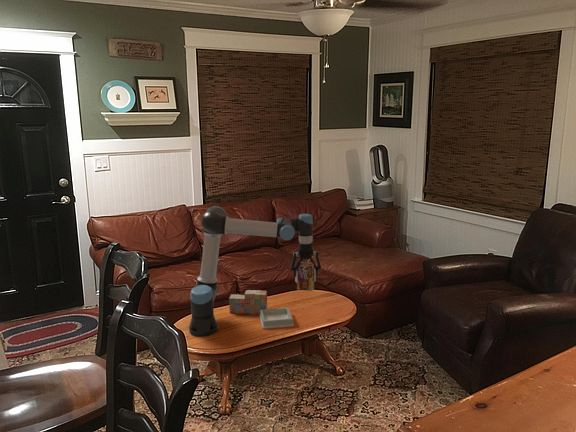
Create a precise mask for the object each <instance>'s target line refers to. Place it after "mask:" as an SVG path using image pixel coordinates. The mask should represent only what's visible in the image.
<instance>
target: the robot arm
mask: <svg viewBox="0 0 576 432" xmlns="http://www.w3.org/2000/svg"><path fill="white" fill-rule="evenodd" d="M313 218H314V217H313V215H312V214H311V213H300V214H299V215H298V217H297V218H295V217H290V218H289V217H287V218H285V217H281V218H280V217H279V218H277V219H276V222H274V221H273V222H271V221H263V220H262V221H261V220H251V219H241V218H233V217H231V218H230V217H229V216H228V215H227V213H226V210H225V209H223V208H222V207H221V206H217V205H216V206H211V207H209V208H208V209H206V210H205V212H204V214H203V215H202V217H201V220H200V225H201V227H202V229H201V230H202V233H203V234H204V238H203V239H204V240H203V245H202V247H203V248H202V257H201V266H200V272H199V275H198V276H197V277H196V284H195V285H196V286H194V287H193V288H192V289H190V296H189V298H190V310H191V311H190V313H191V319H190V322H189V326H188V332H189V333H190V334H191V335H192V336H196V337H206V336H210V335H213V334H215V333H217V331H218V330H219V329H218V328H219V327H218V322H217V320H216V318H215V314H214V313H215V312H214V301H215V299H216V296H217V294H218V291H219V287H218V284H219V279H218V277H217V270H218V261H219V253H220V252H219V251H220V245H221V238H222V237H221V236H223V235H227V234H235V235H236V234H239V235H245V236H246V235H248V236H259V237H271V238H278V239H279V238H280V239H283V240H284V241H291V240H292V239H293V238H294V236H295V233H298V251H297V252H295V251H294V252H293V253H292V260H291V264H290V267H289V269H290V271H293V277H294V279H295V283H296V284H297V283H298V271H297V268H298V267H299V265H300V263H301V262H303V260H309V262H310V263H313V264H314V283H315V282H316V280H317V276H318V270H321V268H322V267H321V262H320V259H319V252H318V250H313V249H314V247H313V246H314V244H313V242H314V241H313V239H314V238H313V237H314V236H313V235H314V234H313V233H314V232H313V231H314V222H313V221H314V219H313ZM313 255H314V257H315V260H316V263H315V261H314V260H313V258H312V256H313ZM298 256H299V258H298V260H297V257H298ZM296 260H297V261H296ZM316 264H317V265H316Z"/></svg>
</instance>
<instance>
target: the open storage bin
mask: <svg viewBox="0 0 576 432" xmlns="http://www.w3.org/2000/svg"><path fill="white" fill-rule="evenodd" d="M258 317H259V321H260V323H261V327H262V329H273V328H274V329H276V328H286V327H294V326H295V324H294V319H293V317H292V314H291V312H290V308H289V307H277V308H276V307H275V308H267V309H261V310H260V314H258Z"/></svg>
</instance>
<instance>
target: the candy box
mask: <svg viewBox="0 0 576 432" xmlns="http://www.w3.org/2000/svg"><path fill="white" fill-rule="evenodd" d="M314 269H315V268H314V264H313V263H312V262H310V261H309V262H307V261H301V263H300V265H299V267H298V268H297V271H298V283H296V290H297V291H298V290H299V291H308V292H313V291H314V289H315V282H314Z"/></svg>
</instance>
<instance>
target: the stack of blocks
mask: <svg viewBox="0 0 576 432" xmlns="http://www.w3.org/2000/svg"><path fill="white" fill-rule="evenodd" d="M228 305H229V314H246V315H248V314H249V315H259V314H260V310H261V309H268V292H267V290H262V289H261V290H259V289H257V290H253V289H252V290H251V289H247V290H245V292H244V294H232V293H231V294H230V296H229V298H228Z"/></svg>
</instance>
